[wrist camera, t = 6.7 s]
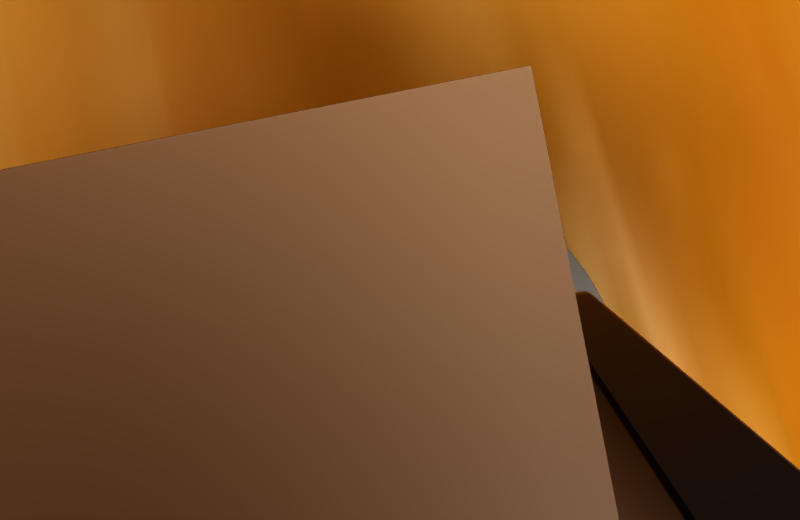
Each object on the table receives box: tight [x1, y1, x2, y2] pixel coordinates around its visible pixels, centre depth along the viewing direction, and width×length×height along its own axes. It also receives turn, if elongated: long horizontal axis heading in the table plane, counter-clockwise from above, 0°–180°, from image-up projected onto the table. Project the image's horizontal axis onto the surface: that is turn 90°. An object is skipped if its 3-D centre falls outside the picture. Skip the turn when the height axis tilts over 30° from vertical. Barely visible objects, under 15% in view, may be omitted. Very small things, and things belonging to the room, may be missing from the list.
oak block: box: [0, 66, 619, 520], centre depth 10 cm, size 5×5×13 cm
